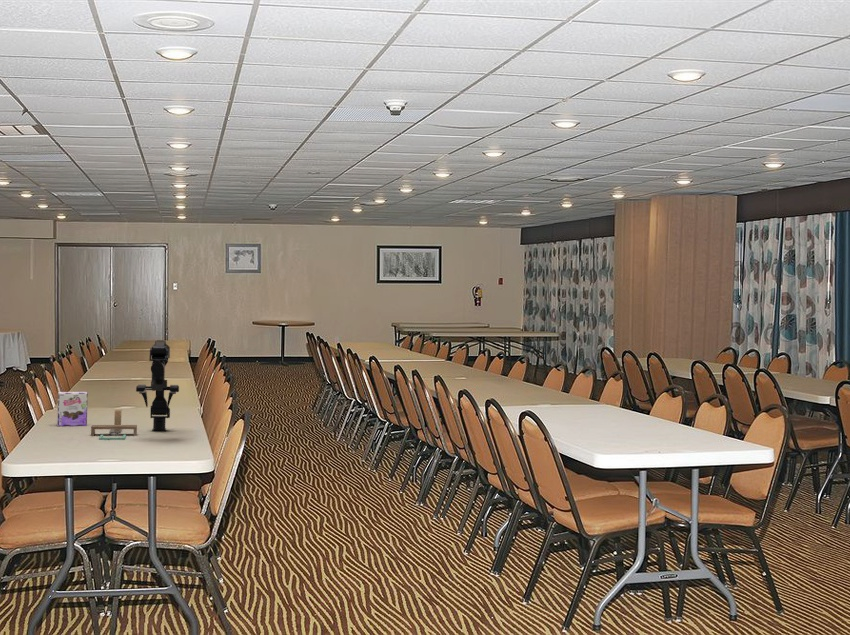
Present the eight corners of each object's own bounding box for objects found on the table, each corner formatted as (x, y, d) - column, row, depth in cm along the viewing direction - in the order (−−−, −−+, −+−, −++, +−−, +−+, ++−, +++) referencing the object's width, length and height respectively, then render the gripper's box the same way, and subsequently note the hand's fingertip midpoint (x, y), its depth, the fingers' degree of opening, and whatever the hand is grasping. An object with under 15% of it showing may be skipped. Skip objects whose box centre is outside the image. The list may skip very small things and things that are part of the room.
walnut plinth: (92, 433, 463) (92, 424, 463) (136, 433, 467) (136, 424, 467) (90, 435, 457) (91, 426, 457) (136, 435, 462) (136, 426, 462)
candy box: (57, 426, 485) (57, 392, 484) (56, 424, 490) (57, 391, 490) (87, 425, 490) (87, 392, 489) (86, 424, 495) (87, 391, 495)
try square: (112, 427, 488) (113, 409, 488) (123, 427, 489) (123, 409, 489) (109, 433, 466) (109, 415, 466) (120, 433, 468) (120, 415, 467)
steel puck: (109, 434, 464) (109, 431, 464) (118, 434, 465) (118, 431, 465) (109, 435, 460) (109, 432, 460) (118, 435, 461) (118, 432, 461)
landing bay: (100, 436, 456) (100, 434, 456) (125, 436, 459) (125, 434, 459) (98, 439, 445) (99, 438, 445) (124, 439, 448) (124, 437, 448)
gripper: (135, 374, 444) (134, 409, 444) (178, 374, 448) (177, 409, 448) (137, 372, 455) (136, 406, 455) (179, 372, 458) (178, 406, 459)
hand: (157, 407), depth 454 cm, fingers open, 9 cm apart
